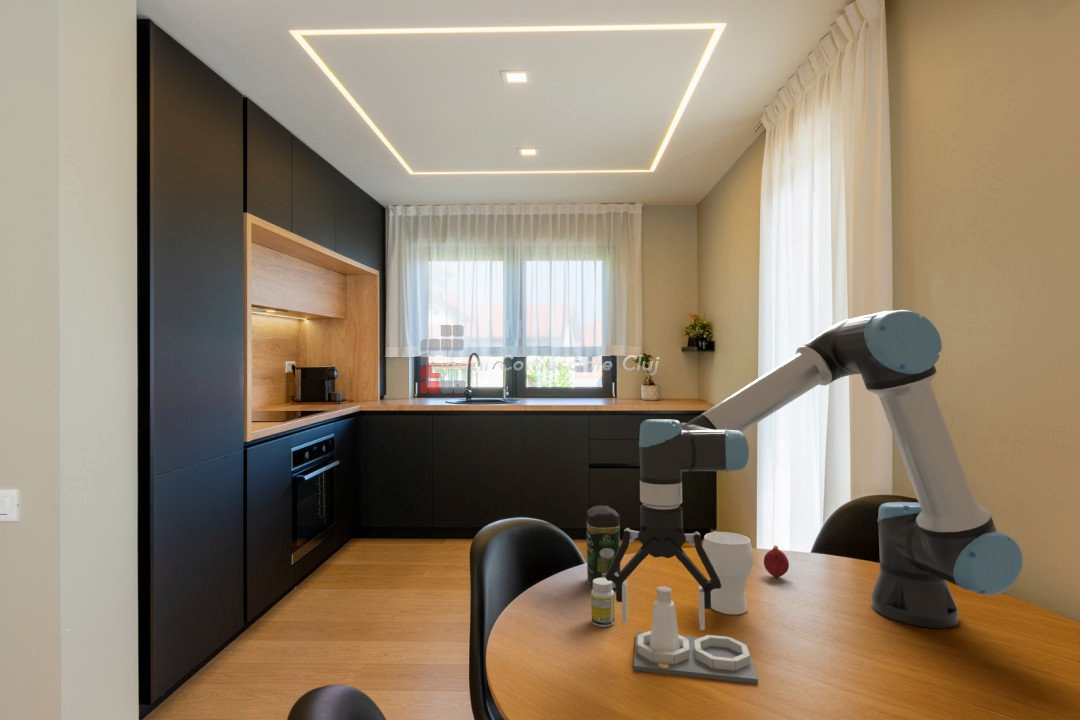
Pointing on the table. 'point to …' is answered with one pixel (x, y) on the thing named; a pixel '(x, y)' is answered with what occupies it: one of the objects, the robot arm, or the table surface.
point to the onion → (776, 562)
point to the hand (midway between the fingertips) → (662, 623)
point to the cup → (729, 569)
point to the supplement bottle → (602, 603)
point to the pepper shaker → (664, 622)
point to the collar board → (698, 666)
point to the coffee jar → (602, 541)
